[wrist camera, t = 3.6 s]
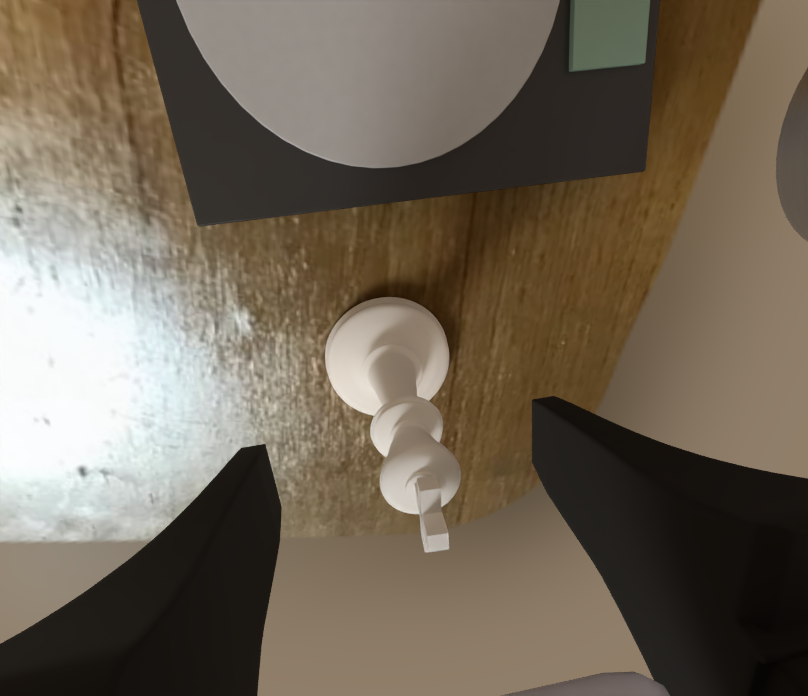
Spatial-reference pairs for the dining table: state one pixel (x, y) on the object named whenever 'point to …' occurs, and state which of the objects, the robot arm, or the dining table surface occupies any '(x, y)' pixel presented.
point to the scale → (397, 97)
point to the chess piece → (399, 402)
